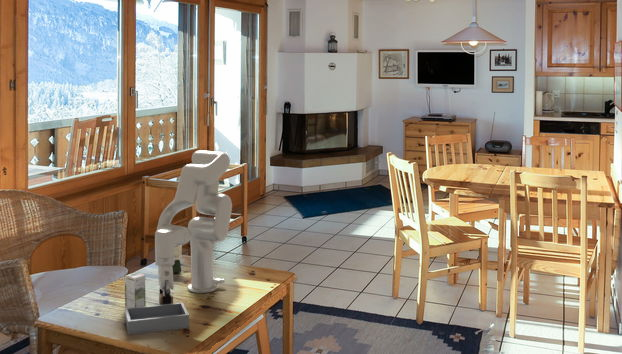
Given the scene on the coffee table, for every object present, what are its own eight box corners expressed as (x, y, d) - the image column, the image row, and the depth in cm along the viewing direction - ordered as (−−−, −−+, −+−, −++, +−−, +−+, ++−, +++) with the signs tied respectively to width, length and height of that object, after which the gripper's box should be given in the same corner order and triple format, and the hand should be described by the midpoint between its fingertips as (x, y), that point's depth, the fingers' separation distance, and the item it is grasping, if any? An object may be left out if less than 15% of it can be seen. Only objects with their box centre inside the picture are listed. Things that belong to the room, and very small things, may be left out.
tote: (183, 314, 277) (182, 302, 276) (189, 327, 264) (188, 314, 263) (125, 321, 270) (124, 308, 269) (128, 334, 257) (127, 321, 256)
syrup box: (136, 306, 285) (135, 271, 283) (146, 309, 282) (145, 274, 280) (125, 310, 281) (123, 275, 278) (135, 313, 278) (134, 277, 275)
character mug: (186, 274, 328) (185, 247, 326) (171, 276, 324) (171, 249, 322) (177, 268, 337) (176, 241, 335) (163, 270, 333) (162, 243, 331)
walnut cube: (171, 304, 289) (171, 292, 288) (173, 308, 284) (173, 296, 283) (159, 305, 287) (158, 293, 286) (160, 309, 282) (160, 297, 281)
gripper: (177, 265, 275) (178, 307, 278) (171, 254, 291) (171, 294, 294) (158, 266, 273) (158, 309, 275) (152, 255, 289) (153, 296, 291)
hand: (165, 301), depth 284 cm, fingers open, 9 cm apart
